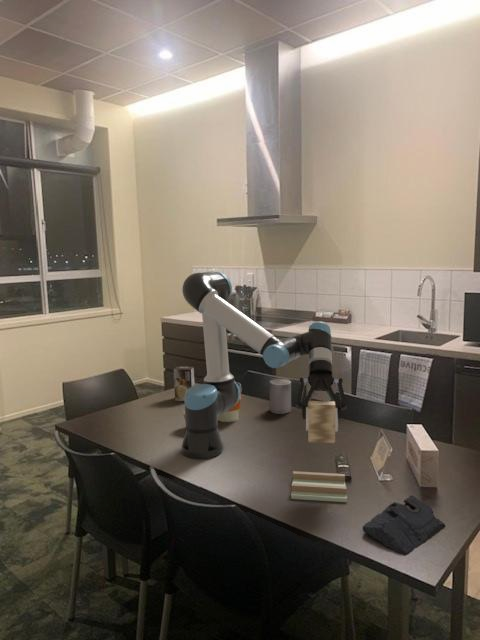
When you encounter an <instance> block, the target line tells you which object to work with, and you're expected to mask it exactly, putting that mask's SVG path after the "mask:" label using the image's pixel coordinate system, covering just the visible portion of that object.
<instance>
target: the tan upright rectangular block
mask: <svg viewBox="0 0 480 640" xmlns="http://www.w3.org/2000/svg"><path fill="white" fill-rule="evenodd" d="M308 418H309V431H308V439H307V440H308V441H307V442H308V443H320V444H321V443H322V444H324V443H326V444H327V443H328V444H331V443H332V444H335V443H336V432H335V401H332V400H331V401H330V400H311V401H308Z"/></svg>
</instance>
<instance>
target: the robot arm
mask: <svg viewBox="0 0 480 640" xmlns="http://www.w3.org/2000/svg"><path fill="white" fill-rule="evenodd" d="M232 286H233V285H232V282H231V280H230V278H229V277H228V276H227V275H226V274H224V273H223V272H220V271H211V270H210V271H205V272H195V273H192V274H190V275H189V276H187V277H186V279H184V281H183V283H182V295H183V298H184V299H185V301H186V302H187V304H188V305H190V307H192V308H193V309H194V310H195V311H197V312H198V313H200V314H201V316H202V328H203V329H202V331H203V339H204V350H205V351H204V353H205V365H206V376H205V377H203V383H202V384H198V385H196V384H195V386H193V387H191V388H189V389H188V390H187V391H186V393H185V401H183V402H184V411H185V418H184V420H185V419H186V421H185V433H184V436H183V440H182V442H181V453H182V455H184V457H187V458H191V459H198V460H199V459H200V460H201V459H203V460H204V459H205V460H206V459H211V458H214V457H216V456H217V457H218V456H219V455H221V454H222V453H223V450H224V444H223V443H224V442H223V440H222V437H221V434H220V431H219V427H218V426H219V425H218V424H219V420H218V416H219V415H221V414H223V413H224V412H226V411H228V410H230V409H232V408H233V407H234V406H235V405H236V404H237V402H238V401H239V398H240V389H239V386H238V384H236V381H235V376H234V375H233V374H232V373H231V372H230V364H229V363H230V362H229V351H228V340H227V339H228V338H227V330H228V331H229V332H230V333H232V335H234V336H236V337H237V338H238V339H239V340H241V341H242V342H244V343H245V344H247V346H249V347H250V348H252V349H253V350H254V351H256V352H257V353H258V354H260V355H261V356H262V358H263V361H264V363H265V364H266V365H267V366H268V367H269V368H273V369H277V368H282V367H283V366H286V365H287V364H288V363H290V362H292V361H294V360H296V359H298V358H300V357H304V356H308V364H309V365H308V377H306V378H303V377H300V378H299V388H298V395H297V398H296V408H297V409H301V411H302V413H301V415H302V416H301V418H302V420H305V432H307V431H309V418H308V401H312V398H313V397H314V394H315V393H316V392H319V391H320V392H321V391H323V392H326V393H327V394H328V396H329V398H330V400H331V401H335V433H337V432H339V421H342V411H343V410H347V406H348V403H347V400H346V395H345V392H344V388H343V378H339V379H338V378H335V377H334V376H333V374H334V373H333V353H332V333H331V326H330V325H329V324H328V323H326V322H324V321H315V322H313V323H311V324H309V327H308V329H307V331H306V332H303V333H301V334H296V335H294V336H289V337H285V338H282V339H279V338H277V337H276V336H275V335H274V334H272V332H271V333H270V332H269V331H268V330H267V329H265V328H263V326H261V325H260V324H258V323H257V322H255V321H254V320H253V319H251V318H250V317H248V316H247V315H246V314H244V313H243V312H242V311H240V310H238V309H237V308H236V307H235V306H233V305H232V304H231V303H229V301H228V300H229V297H230V296H231V295H232V289H233V287H232ZM307 383H308V384H309V385H310V389H309V390H308V393H307V394H306V397H305V399H304V401H303V403H302V400H303V396H304V390H305V386H306V385H307ZM333 384H335V386H336V387H337V391H338V397H339V399H338V398H337V396H336V394H335V392H334V390H333V389H332V386H333ZM339 400H340V401H339Z"/></svg>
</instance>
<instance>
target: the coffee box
mask: <svg viewBox="0 0 480 640" xmlns="http://www.w3.org/2000/svg"><path fill="white" fill-rule="evenodd" d="M195 382H196V381H195V367H194V366H184V365H183V366H178V365H177V366H175V367H174V368H173V387H174V401H175V402H184V401H185V393H186V391H187V390H188V389H189V388H191V387H193V386H196V384H195Z"/></svg>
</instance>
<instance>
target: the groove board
mask: <svg viewBox="0 0 480 640" xmlns="http://www.w3.org/2000/svg"><path fill="white" fill-rule="evenodd" d="M290 485H291V492H290V499H291V500H305V501H321V502H335V503H336V502H337V503H347V502H348V496H347V490H348V489H347V485H346V474H345V473H333V472H311V471H296V470H295V471H294V470H293V471H292V483H291V484H290Z"/></svg>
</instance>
